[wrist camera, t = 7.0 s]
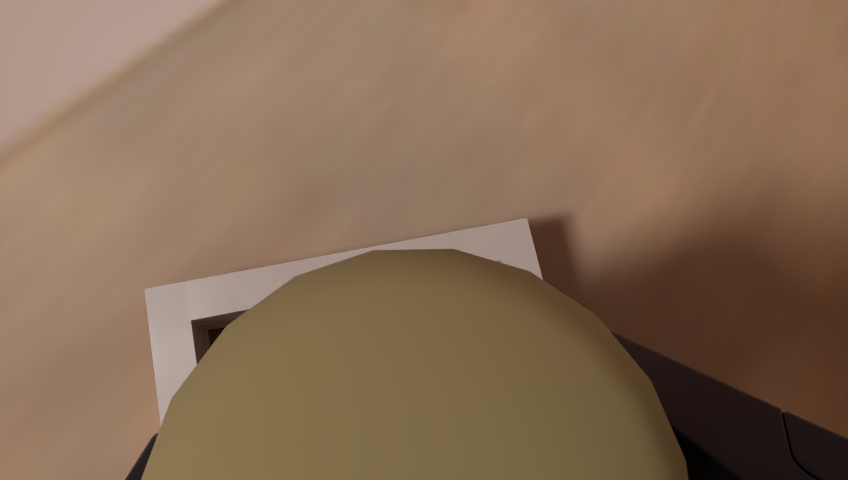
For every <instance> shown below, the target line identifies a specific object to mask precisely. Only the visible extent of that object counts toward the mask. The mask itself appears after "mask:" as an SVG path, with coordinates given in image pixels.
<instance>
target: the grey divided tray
mask: <svg viewBox="0 0 848 480" xmlns="http://www.w3.org/2000/svg"><path fill="white" fill-rule="evenodd" d="M411 249H456V250H459V251H463V252H466V253H470V254H473V255H476V256H480V257H483V258H487V259H490V260H493V261H497V262H500V263H504V264H507V265H511V266H514V267H517V268H521V269H524V270H528V271H530V272H532V273H533V274H535V275H536V276H538V277H539V278H541V279H542V280H543V278H542V274H541V270H540V266H539V263H538V259H537V255H536V251H535V247H534V243H533V239H532V236H531V232H530V228H529V224H528V220H527V218H524V219H518V220H513V221H508V222H502V223H497V224H492V225H486V226H481V227H476V228H470V229H465V230H459V231H454V232H449V233H443V234H438V235H433V236H427V237H422V238H416V239H411V240H406V241H400V242H395V243H390V244H384V245H379V246H373V247H368V248H363V249H357V250H352V251H347V252H341V253H336V254H331V255H325V256H320V257H314V258H309V259H304V260H298V261H293V262H288V263H282V264H277V265H271V266H266V267H261V268H255V269H250V270H245V271H239V272H234V273H229V274H223V275H218V276H212V277H207V278H202V279H196V280H191V281H186V282H180V283H175V284H169V285H164V286H159V287H153V288H148V289H145V298H146V306H147V314H148V323H149V331H150V339H151V347H152V356H153V364H154V372H155V381H156V389H157V397H158V405H159V414H160V422H161V425H162V422H163V419H164V417H165V414H166V411H167V409H168V406H169V403H170V401H171V398H172V397H173V396H174V394H175V393H176V392H177V390H178V389H179V388H180V386H181V385H182V384H183V382H184V381H185V380H186V379H187V377H188V376H189V375H190V373H191V372H192V371H193V369H194V368H195V367H196V365H197V364H198V363H199V361H200V360H201V359H202V358H203V356H204V355H205V354H206V352H207V351H208V350H209V348H210V340H209V333H208V330H213V329H218V328H223V327H226V326H227V325H228V324H230V323H231V322H232V321H234V320H235V319H237V318H238V317H239V316H241V315H242V314H243V313H245V312H246V311H248V310H249V309H250V308H252V307H253V306H255V305H256V304H257V303H259V302H260V301H262V300H263V299H264V298H266V297H267V296H268V295H270V294H271V293H273V292H274V291H275V290H277V289H278V288H280V287H281V286H282V285H284V284H285V283H286V282H288V281H289V280H291V279H292V278H293V277H295V276H297V275H300V274H303V273H306V272H309V271H312V270H315V269H318V268H321V267H324V266H327V265H330V264H333V263H336V262H339V261H342V260H345V259H348V258H351V257H354V256H357V255H360V254H363V253H366V252H369V251H372V250H411Z"/></svg>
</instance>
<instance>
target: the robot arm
mask: <svg viewBox="0 0 848 480" xmlns="http://www.w3.org/2000/svg"><path fill="white" fill-rule="evenodd" d="M609 331H610V332H611V333H612V334H613V335H614V337H615V338H616V339H617V340H618V341H619V343H620V344H621V345H622V346H623V347H624V349H625V350H626V351H627V352H628V353H629V355H630V356H631V357H632V358H633V359H634V361H635V362H636V363H637V364H638V365H639V367H640V368H641V369H642V370H643V371H644V373H645V374H646V375H647V376H648V377H649V379H650V380H651V382H652V384H653V386H654V389H655V391H656V393H657V395H658V398H659V400H660V402H661V405H662V407H663V409H664V412H665V414H666V416H667V418H668V421H669V423H670V425H671V428H672V430H673V432H674V434H675V437H676V439H677V441H678V444H679V446H680V448H681V451H682V453H683V455H684V457H685V460H686V465H687V472H688V480H848V438H845V437H843V436H841V435H838V434H836V433H834V432H832V431H829V430H827V429H825V428H822V427H820V426H818V425H816V424H813V423H811V422H809V421H807V420H805V419H802V418H800V417H798V416H796V415H794V414H792V413H789V412H787V411H785V412H783V413H782V411H781V409H780V408H778V407H776V406H774V405H772V404H769V403H767V402H765V401H763V400H761V399H758V398H756V397H754V396H752V395H750V394H748V393H745V392H743V391H741V390H739V389H737V388H735V387H732V386H730V385H728V384H726V383H724V382H722V381H719V380H717V379H715V378H713V377H711V376H708V375H706V374H704V373H702V372H700V371H698V370H695V369H693V368H691V367H689V366H687V365H685V364H682V363H680V362H678V361H676V360H674V359H672V358H669V357H667V356H665V355H663V354H661V353H658V352H656V351H654V350H652V349H650V348H648V347H645V346H643V345H641V344H639V343H637V342H635V341H632V340H630V339H628V338H626V337H624V336H622V335H619V334H617V333H615V332H613V331H611V330H609ZM157 435H158V433H157V434H155V435H154V436H153V437H152V438H151V440H150V441H149V443H148V444H147V446H146V447H145V449H144V451H143V452H142V454H141V455H140V457H139V458H138V460H137V462H136V463H135V465H134V466H133V468H132V470H131V471H130V473H129V474H128V476H127V477H126V479H125V480H141V478H142V475H143V473H144V470H145V467H146V465H147V462H148V459H149V457H150V454H151V451H152V449H153V446H154V443H155V441H156V438H157Z"/></svg>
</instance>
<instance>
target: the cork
mask: <svg viewBox="0 0 848 480" xmlns="http://www.w3.org/2000/svg"><path fill="white" fill-rule="evenodd" d="M141 480H688V472H687V465H686V460H685V457H684V455H683V453H682V451H681V448H680V446H679V444H678V441H677V439H676V437H675V434H674V432H673V430H672V428H671V425H670V423H669V421H668V418H667V416H666V414H665V412H664V409H663V407H662V405H661V402H660V400H659V398H658V395H657V393H656V391H655V389H654V386H653V384H652V382H651V380H650V379H649V377H648V376H647V375H646V374H645V373H644V371H643V370H642V369H641V368H640V367H639V365H638V364H637V363H636V362H635V361H634V359H633V358H632V357H631V356H630V355H629V353H628V352H627V351H626V350H625V349H624V347H623V346H622V345H621V344H620V343H619V341H618V340H617V339H616V338H615V337H614V335H613V334H612V333H611V332H610V331H609V329H608V328H607V327H606V326H605V325H604V323H603V322H602V321H601V320H600V319H599V317H598V316H597V315H595V314H594V313H592V312H591V311H589V310H588V309H586V308H585V307H583V306H582V305H580V304H579V303H577V302H575V301H574V300H572V299H571V298H569V297H568V296H566V295H565V294H563V293H562V292H560V291H559V290H557V289H556V288H554V287H553V286H551V285H550V284H548V283H547V282H545V281H544V280H542V279H541V278H539V277H538V276H536V275H535V274H533V273H532V272H530V271H528V270H524V269H521V268H517V267H514V266H511V265H507V264H504V263H500V262H497V261H493V260H490V259H487V258H483V257H480V256H476V255H473V254H470V253H466V252H463V251H459V250H456V249H411V250H372V251H369V252H366V253H363V254H360V255H357V256H354V257H351V258H348V259H345V260H342V261H339V262H336V263H333V264H330V265H327V266H324V267H321V268H318V269H315V270H312V271H309V272H306V273H303V274H300V275H297V276H295V277H293V278H292V279H291V280H289V281H288V282H286V283H285V284H284V285H282V286H281V287H280V288H278V289H277V290H275V291H274V292H273V293H271V294H270V295H268V296H267V297H266V298H264V299H263V300H262V301H260V302H259V303H257V304H256V305H255V306H253V307H252V308H250V309H249V310H248V311H246V312H245V313H243V314H242V315H241V316H239V317H238V318H237V319H235V320H234V321H232V322H231V323H230V324H228V325H227V326H226V327H225V329H224V330H223V331H222V333H221V334H220V335H219V337H218V338H217V339H216V340H215V342H214V343H213V344H212V346H211V347H210V348H209V350H208V351H207V352H206V354H205V355H204V356H203V358H202V359H201V360H200V361H199V363H198V364H197V365H196V367H195V368H194V369H193V371H192V372H191V373H190V375H189V376H188V377H187V379H186V380H185V381H184V382H183V384H182V385H181V386H180V388H179V389H178V390H177V392H176V393H175V394H174V396H173V397H172V398H171V401H170V403H169V406H168V409H167V411H166V414H165V417H164V419H163V422H162V425H161V427H160V430H159V433H158V435H157V438H156V441H155V443H154V446H153V449H152V451H151V454H150V457H149V459H148V462H147V465H146V467H145V470H144V473H143V475H142V478H141Z"/></svg>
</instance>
